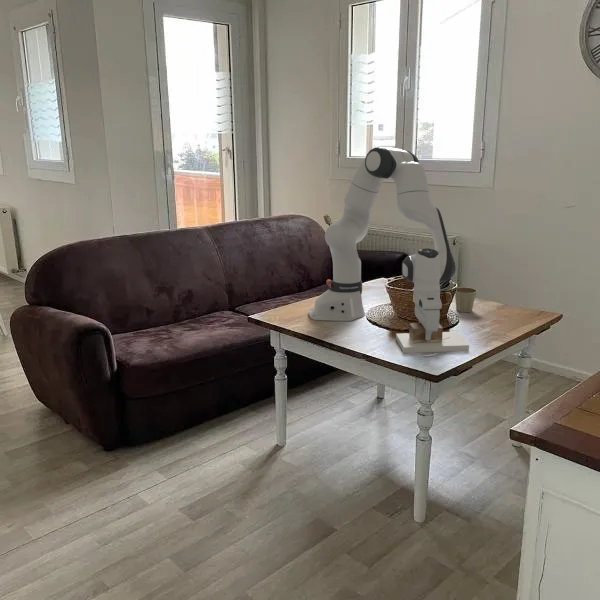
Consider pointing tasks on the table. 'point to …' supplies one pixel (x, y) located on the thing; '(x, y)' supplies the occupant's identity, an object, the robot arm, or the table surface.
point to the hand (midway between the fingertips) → (425, 335)
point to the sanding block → (419, 333)
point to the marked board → (433, 343)
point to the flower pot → (465, 299)
